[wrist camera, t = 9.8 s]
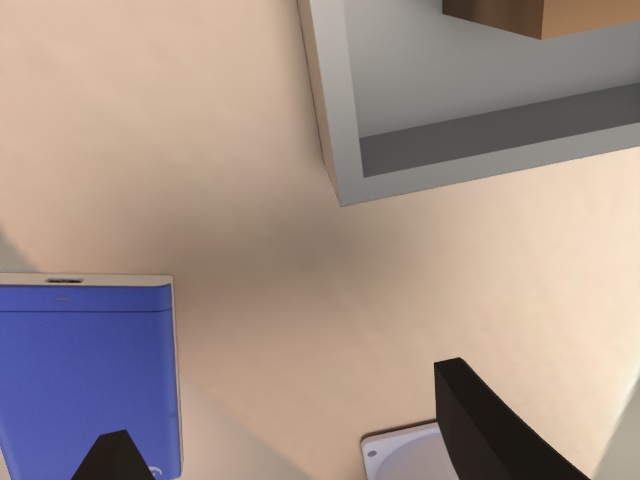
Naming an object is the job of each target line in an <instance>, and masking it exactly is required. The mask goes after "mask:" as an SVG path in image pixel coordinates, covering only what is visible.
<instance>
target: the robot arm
mask: <svg viewBox="0 0 640 480" xmlns="http://www.w3.org/2000/svg"><path fill="white" fill-rule="evenodd" d="M434 375H435V398H436V420H437V422H435V423H430V424H426V425H421V426H417V427H412V428H408V429H403V430H399V431H394V432H390V433H385V434H380V435H376V436H371V437H368V438H365V439H364V440H363V441H362V442H361V446H362V452H363V458H364V463H365V469H366V474H367V480H591V479H589V478H588V477H587V476H586V475H584V474H583V473H582V472H581V471H580V470H578V469H577V468H576V467H575V466H574V465H572V464H571V463H570V462H569V461H568V460H566V459H565V458H564V457H563V456H562V455H561V454H559V453H558V452H557V451H556V450H555V449H554V448H552V447H551V446H550V445H549V444H548V443H547V442H546V441H545V440H543V439H542V438H541V437H540V436H539V435H538V434H537V433H536V432H535V431H534V430H533V429H531V428H530V427H529V426H528V425H527V424H526V423H525V422H524V421H523V420H522V419H521V418H520V417H519V416H518V415H516V414H515V413H514V412H513V411H512V410H511V409H510V408H509V407H508V406H507V405H506V404H505V403H504V402H503V401H502V400H501V399H500V398H499V397H498V396H497V395H496V394H495V393H494V392H493V391H492V390H491V389H490V388H489V387H488V386H487V385H486V383H485V382H484V381H483V380H482V379H481V378H480V377H479V376H478V375H477V374H476V373H475V372H474V371H473V369H472V368H471V367H470V366H469V365H468V364H467V363H466V362H465V361H464V360H463V359H462V358H460V357H458V358H454V359H449V360H444V361H440V362H435V363H434ZM71 480H156V479H155V478H154V476H153V474H152V473H151V471H150V469H149V467H148V466H147V464H146V462H145V461H144V459H143V457H142V455H141V454H140V452H139V450H138V449H137V447H136V445H135V444H134V442H133V440H132V438H131V437H130V435H129V433H128V432H127V430H126V429H125V430H120V431H116V432H111V433H106V434H102V435H99V437H98V438H97V439H96V441H95V443H94V444H93V446H92V447H91V449H90V450H89V452H88V453H87V455H86V456H85V458H84V459H83V461H82V462H81V464H80V466H79V467H78V469H77V470H76V472H75V473H74V475H73V477H72V478H71Z"/></svg>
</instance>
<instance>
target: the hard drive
mask: <svg viewBox="0 0 640 480" xmlns="http://www.w3.org/2000/svg"><path fill="white" fill-rule="evenodd" d="M125 429H126V430H127V432H128V433H129V435H130V437H131V438H132V440H133V442H134V444H135V445H136V447H137V449H138V450H139V452H140V454H141V455H142V457H143V459H144V461H145V462H146V464H147V466H148V467H149V469H150V471H151V473H152V474H153V476H154V478H155V479H156V480H174V479H176V478H179V477H180V476H181V472H182V467H183V460H184V456H183V438H182V417H181V400H180V380H179V374H178V359H177V342H176V324H175V306H174V287H173V276H172V275H112V274H44V273H42V272H41V271H40V270H39V269H38V267H29V266H22V267H21V266H19V267H18V266H0V447H1V450H2V453H3V456H4V459H5V462H6V465H7V468H8V471H9V474H10V477H11V480H71V478H72V477H73V475H74V473H75V472H76V470H77V469H78V467H79V466H80V464H81V462H82V461H83V459H84V458H85V456H86V455H87V453H88V452H89V450H90V449H91V447H92V446H93V444H94V443H95V441H96V439H97V438H98V437H99V435H102V434H106V433H111V432H116V431H120V430H125Z"/></svg>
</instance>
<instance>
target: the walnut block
mask: <svg viewBox="0 0 640 480" xmlns="http://www.w3.org/2000/svg"><path fill="white" fill-rule="evenodd" d="M442 14H444V15H448V16H452V17H456V18H459V19H463V20H467V21H471V22H474V23H478V24H482V25H486V26H490V27H493V28H497V29H501V30H505V31H508V32H512V33H516V34H520V35H523V36H527V37H531V38H535V39H539V40H545V39H550V38H554V37H559V36H564V35H569V34H574V33H579V32H584V31H589V30H594V29H599V28H604V27H609V26H614V25H618V24H623V23H628V22H633V21H638V20H640V0H442Z"/></svg>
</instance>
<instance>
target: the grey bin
mask: <svg viewBox="0 0 640 480" xmlns="http://www.w3.org/2000/svg"><path fill="white" fill-rule="evenodd" d="M297 4H298V10H299V16H300V22H301V29H302V35H303V41H304V47H305V53H306V59H307V65H308V71H309V77H310V83H311V89H312V96H313V102H314V108H315V114H316V120H317V126H318V132H319V138H320V144H321V150H322V156H323V161H324V164H325V166H326V169H327V172H328V174H329V177H330V179H331V182H332V185H333V187H334V190H335V193H336V195H337V198H338V200H339V203H340V206H341V207H343V206H348V205H353V204H358V203H363V202H368V201H373V200H378V199H382V198H387V197H392V196H397V195H402V194H407V193H412V192H417V191H422V190H427V189H432V188H436V187H441V186H446V185H451V184H456V183H461V182H466V181H471V180H476V179H481V178H486V177H490V176H495V175H500V174H505V173H510V172H515V171H520V170H525V169H530V168H535V167H540V166H545V165H549V164H554V163H559V162H564V161H569V160H574V159H579V158H584V157H589V156H594V155H599V154H603V153H608V152H613V151H618V150H623V149H628V148H633V147H638V146H640V20H638V21H633V22H628V23H623V24H618V25H614V26H609V27H604V28H599V29H594V30H589V31H584V32H579V33H574V34H569V35H564V36H559V37H554V38H550V39H545V40H539V39H535V38H531V37H527V36H523V35H520V34H516V33H512V32H508V31H505V30H501V29H497V28H493V27H490V26H486V25H482V24H478V23H474V22H471V21H467V20H463V19H459V18H456V17H452V16H448V15H444V14H442V0H297Z"/></svg>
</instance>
